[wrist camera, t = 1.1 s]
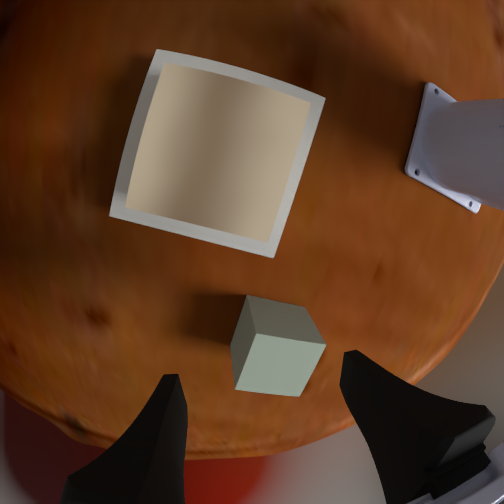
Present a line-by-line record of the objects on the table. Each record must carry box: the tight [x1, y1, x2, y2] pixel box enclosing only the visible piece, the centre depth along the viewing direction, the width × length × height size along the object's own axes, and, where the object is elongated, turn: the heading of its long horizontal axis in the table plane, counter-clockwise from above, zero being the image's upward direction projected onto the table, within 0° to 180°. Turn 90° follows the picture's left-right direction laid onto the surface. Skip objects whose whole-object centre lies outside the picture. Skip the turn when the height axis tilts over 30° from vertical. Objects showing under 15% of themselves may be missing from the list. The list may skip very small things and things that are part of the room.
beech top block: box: [125, 63, 311, 243], centre depth 14 cm, size 7×7×3 cm
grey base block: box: [109, 49, 326, 258], centre depth 17 cm, size 10×10×3 cm
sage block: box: [230, 295, 326, 396], centre depth 20 cm, size 4×4×5 cm
